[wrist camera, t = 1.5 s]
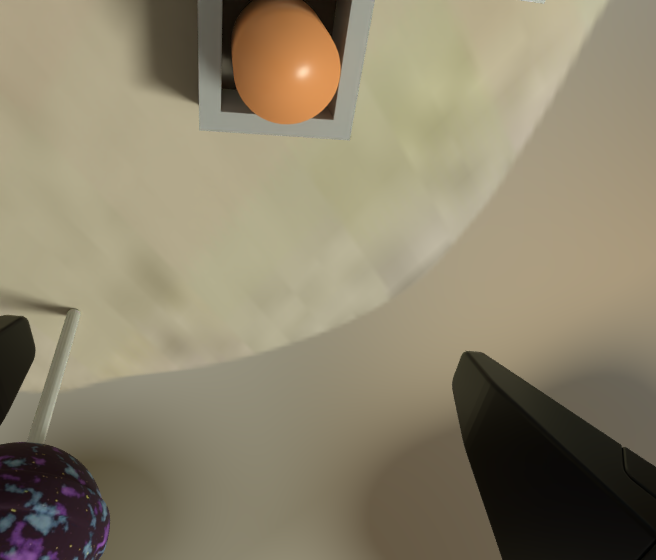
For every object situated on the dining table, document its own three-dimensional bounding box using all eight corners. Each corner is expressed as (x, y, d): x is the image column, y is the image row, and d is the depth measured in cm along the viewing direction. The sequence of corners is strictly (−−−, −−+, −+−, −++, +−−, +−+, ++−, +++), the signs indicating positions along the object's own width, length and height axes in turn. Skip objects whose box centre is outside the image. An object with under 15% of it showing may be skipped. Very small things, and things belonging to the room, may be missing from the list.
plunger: (217, 7, 18) (217, 30, 16) (314, -19, 18) (328, 0, 16) (247, 104, 21) (251, 135, 18) (333, 80, 21) (348, 109, 18)
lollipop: (125, 257, 26) (57, 576, 14) (152, 349, 30) (116, 649, 19) (-22, 269, 25) (-219, 622, 13) (28, 362, 29) (-88, 687, 18)
